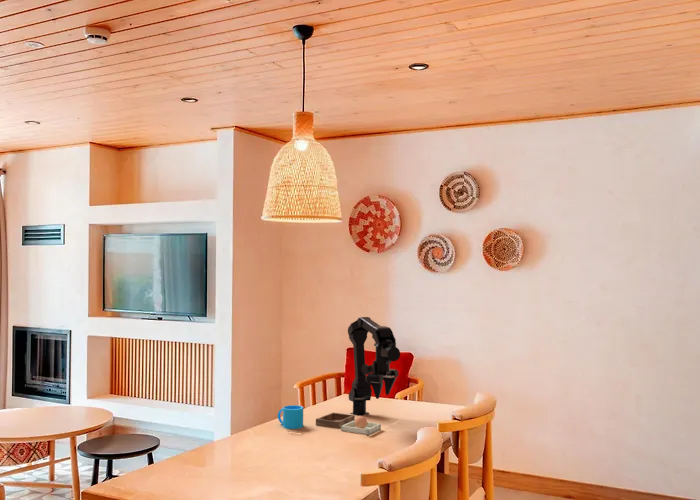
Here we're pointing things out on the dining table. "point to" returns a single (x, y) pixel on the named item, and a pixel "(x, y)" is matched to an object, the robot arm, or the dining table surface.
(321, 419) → the walnut box
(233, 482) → the dining table surface
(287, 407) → the mug
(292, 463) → the dining table surface
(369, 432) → the tray
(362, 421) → the ball
